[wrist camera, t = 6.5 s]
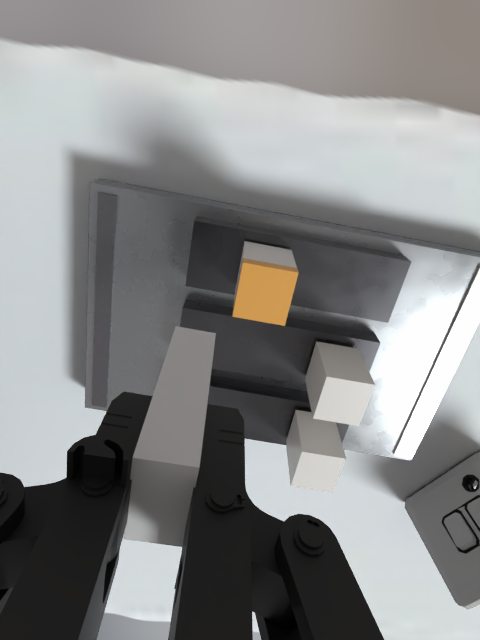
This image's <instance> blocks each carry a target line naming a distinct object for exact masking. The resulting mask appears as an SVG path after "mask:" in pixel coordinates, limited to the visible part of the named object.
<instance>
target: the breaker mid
mask: <svg viewBox="0 0 480 640" xmlns="http://www.w3.org/2000/svg"><path fill="white" fill-rule="evenodd" d="M305 382H306V387H307V392H308V397H309V402H310V407H311V411H312V416H313V419H319V420H325V421H331V422H337V423H343V424H349V425H355V426H359V425H360V422H361V420H362V417H363V415H364V412H365V410H366V407H367V405H368V402H369V400H370V397H371V395H372V392H373V390H374V387H375V383H374V381H373V379H372V377H371V375H370V373H369V371H368V368H367V366H366V364H365V362H364V360H363V358H362V356H361V354H360V351H359V349H357V348H351V347H346V346H340V345H334V344H329V343H323V342H317V341H316V344H315V348H314V351H313V354H312V357H311V361H310V364H309V367H308V371H307V374H306V377H305Z"/></svg>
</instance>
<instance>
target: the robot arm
mask: <svg viewBox="0 0 480 640" xmlns="http://www.w3.org/2000/svg"><path fill="white" fill-rule="evenodd" d="M215 337H216V333H212V332H206V331H200V330H195V329H189V328H183V327H178V326H176V327H175V330H174V333H173V336H172V339H171V342H170V345H169V348H168V351H167V354H166V357H165V360H164V363H163V366H162V369H161V372H160V376H159V379H158V382H157V385H156V388H155V391H154V394H153V396H149V395H143V394H136V393H130V392H122V393H121V394H120V395H119V396H117V397H116V398H115V399H113V400H112V402H111V404H110V406H109V408H108V410H107V412H106V415H105V416H104V418H103V421H102V423H101V425H100V427H99V429H98V431H97V433H96V435H93V436H89V437H85V438H83V439H81V440H79V441H78V442H76V443H74V444H73V445H72V447H71V448H70V449H69V450H68V451H67V478H65V479H63V480H61V481H58V482H56V483H51V484H46V485H38V486H30V487H24V486H23V484H22V482H21V480H20V479H18V478H16V477H15V476H13V475H11V474H5V473H0V640H96V639H97V636H98V632H99V628H100V625H101V621H102V618H103V614H104V611H105V607H106V604H107V600H108V596H109V593H110V589H111V586H112V582H113V579H114V575H115V571H116V568H117V564H118V559H119V550H120V545H121V542H122V538H123V535H124V539H127V540H135V541H142V542H150V543H157V544H165V545H173V546H180V547H182V554H181V559H180V564H179V569H178V574H177V579H176V584H175V588H174V589H176V590H175V597H174V603H173V610H172V617H171V624H170V632H169V638H168V640H252V611H253V612H255V615H256V619H257V623H258V627H259V631H260V635H261V639H262V640H384V638H383V636H382V634H381V632H380V630H379V628H378V626H377V623H376V621H375V619H374V617H373V615H372V613H371V611H370V609H369V606H368V604H367V602H366V600H365V598H364V596H363V594H362V592H361V589H360V587H359V585H358V583H357V581H356V579H355V577H354V574H353V572H352V570H351V568H350V566H349V564H348V562H347V560H346V557H345V555H344V553H343V551H342V549H341V547H340V545H339V543H338V540H337V538H336V537H335V535H334V534H333V532H332V531H331V529H330V528H329V527H328V526H327V525H326V524H324V523H323V522H322V521H321V520H319V519H317V518H315V517H312V516H310V515H303V514H297V515H294V516H290V517H289V518H288V519H287V520H285V521H284V522H283V521H281V520H279V519H277V518H275V517H272V516H270V515H268V514H266V513H265V512H263V511H261V510H260V509H259V508H257V507H256V506H255V505H254V504H253V503H252V501H251V500H250V499H249V497H248V495H247V492H246V488H245V446H244V444H245V442H244V419H243V417H242V416H241V414H240V412H239V410H238V409H236V408H230V407H224V406H218V405H211V404H207V403H208V394H209V386H210V378H211V370H212V362H213V354H214V345H215Z"/></svg>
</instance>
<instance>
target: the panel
mask: <svg viewBox="0 0 480 640" xmlns="http://www.w3.org/2000/svg"><path fill="white" fill-rule="evenodd" d="M244 241H247V242H252V243H257V244H263V245H268V246H273V247H279V248H284V249H289V250H292V253H293V256H294V260H295V263H296V266H297V269H298V272H299V273H298V277H297V281H296V285H295V289H294V293H293V296H292V300H291V304H290V308H289V312H288V316H287V320H286V323H285V326H282V325H277V324H271V323H265V322H260V321H254V320H248V319H243V318H237V317H232V316H233V306H234V297H235V288H236V283H237V278H238V272H239V267H240V262H241V257H242V251H243V246H244ZM479 322H480V252H478V251H473V250H467V249H462V248H457V247H452V246H447V245H441V244H436V243H431V242H426V241H421V240H416V239H410V238H405V237H400V236H395V235H390V234H384V233H379V232H374V231H369V230H364V229H359V228H353V227H348V226H343V225H338V224H333V223H327V222H322V221H317V220H312V219H307V218H302V217H296V216H291V215H286V214H281V213H276V212H270V211H265V210H260V209H255V208H250V207H244V206H239V205H234V204H229V203H224V202H219V201H213V200H208V199H203V198H198V197H193V196H187V195H182V194H177V193H172V192H167V191H162V190H156V189H151V188H146V187H141V186H136V185H130V184H125V183H120V182H115V181H110V180H105V179H98V180H95V181H92V182H90V195H89V242H88V288H87V335H86V382H85V407H86V408H92V409H98V410H104V411H107V410H108V408H109V406H110V404H111V402H112V400H113V399H115V398H116V397H117V396H119V395H120V394H121V393H122V392H130V393H136V394H143V395H149V396H153V394H154V391H155V388H156V385H157V382H158V379H159V376H160V372H161V369H162V366H163V363H164V360H165V357H166V354H167V351H168V348H169V345H170V342H171V339H172V336H173V333H174V330H175V327H176V326H178V327H183V328H189V329H195V330H200V331H206V332H212V333H216V337H215V345H214V354H213V362H212V370H211V378H210V386H209V394H208V403H207V404H211V405H218V406H224V407H230V408H236V409H238V410H239V412H240V414H241V416H242V417H243V419H244V438H246V439H252V440H258V441H264V442H270V443H277V444H283V445H286V440H287V437H288V434H289V430H290V427H291V424H292V420H293V417H294V414H295V410H300V411H306V412H312V411H311V407H310V402H309V397H308V392H307V387H306V382H305V377H306V374H307V371H308V367H309V364H310V361H311V357H312V354H313V351H314V348H315V344H316V341H317V342H323V343H329V344H334V345H340V346H346V347H351V348H357V349H359V351H360V354H361V356H362V358H363V360H364V362H365V364H366V366H367V368H368V371H369V373H370V375H371V377H372V379H373V381H374V383H375V387H374V390H373V392H372V395H371V397H370V400H369V402H368V405H367V407H366V410H365V412H364V415H363V417H362V420H361V422H360V425H359V426H355V425H349V424H343V423H337V422H336V424H337V428H338V432H339V435H340V439H341V442H342V446H343V449H344V450H349V451H355V452H361V453H368V454H374V455H380V456H386V457H392V458H398V459H404V460H410V461H411V460H412V458H413V456H414V454H415V452H416V450H417V448H418V446H419V444H420V442H421V440H422V438H423V436H424V434H425V432H426V430H427V428H428V426H429V424H430V422H431V420H432V418H433V416H434V413H435V411H436V409H437V407H438V405H439V403H440V401H441V399H442V397H443V395H444V393H445V391H446V389H447V387H448V385H449V383H450V381H451V379H452V377H453V375H454V373H455V371H456V369H457V367H458V364H459V362H460V360H461V358H462V356H463V354H464V352H465V350H466V348H467V346H468V344H469V342H470V340H471V338H472V336H473V334H474V332H475V330H476V328H477V326H478V324H479Z"/></svg>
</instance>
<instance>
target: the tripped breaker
mask: <svg viewBox="0 0 480 640" xmlns="http://www.w3.org/2000/svg"><path fill="white" fill-rule="evenodd" d="M298 273H299V272H298V269H297V266H296V263H295V260H294V256H293V253H292V250H289V249H284V248H279V247H273V246H268V245H263V244H257V243H252V242H247V241H244V246H243V251H242V257H241V262H240V267H239V272H238V278H237V283H236V288H235V297H234V306H233V316H232V317H237V318H243V319H248V320H254V321H260V322H265V323H271V324H277V325H282V326H285V323H286V320H287V316H288V312H289V308H290V304H291V300H292V296H293V293H294V289H295V285H296V281H297V277H298Z"/></svg>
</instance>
